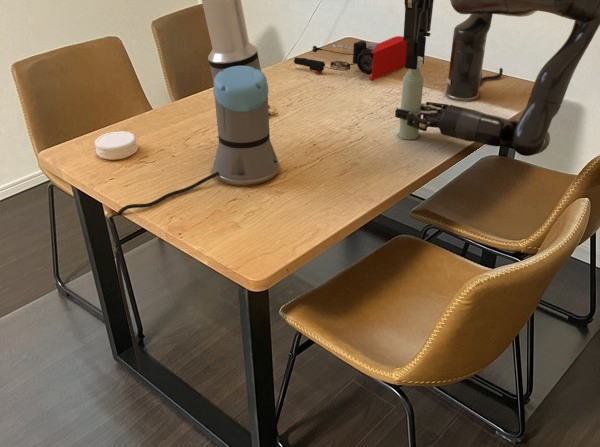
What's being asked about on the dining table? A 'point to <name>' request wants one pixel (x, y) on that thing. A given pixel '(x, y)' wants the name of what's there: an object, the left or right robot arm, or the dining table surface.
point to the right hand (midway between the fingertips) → (401, 109)
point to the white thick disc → (116, 145)
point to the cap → (419, 62)
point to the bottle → (411, 101)
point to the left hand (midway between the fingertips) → (414, 65)
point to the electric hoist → (367, 57)
